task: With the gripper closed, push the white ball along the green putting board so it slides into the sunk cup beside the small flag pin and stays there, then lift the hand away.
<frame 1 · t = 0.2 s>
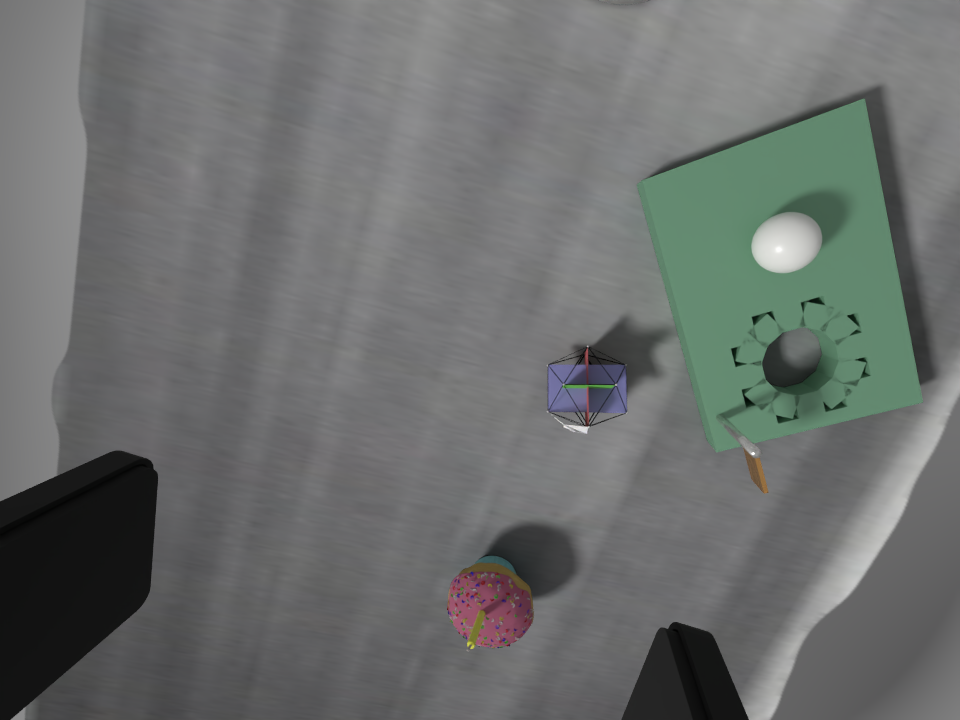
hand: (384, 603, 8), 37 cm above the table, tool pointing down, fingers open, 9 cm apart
mat: (769, 289, 40), on the table
geometric puzzle: (584, 378, 44), on the table
ball: (785, 243, 35), point 5 cm above the table, touching mat
cupcake: (495, 573, 50), on the table
flag pin: (710, 408, 43), resting on mat
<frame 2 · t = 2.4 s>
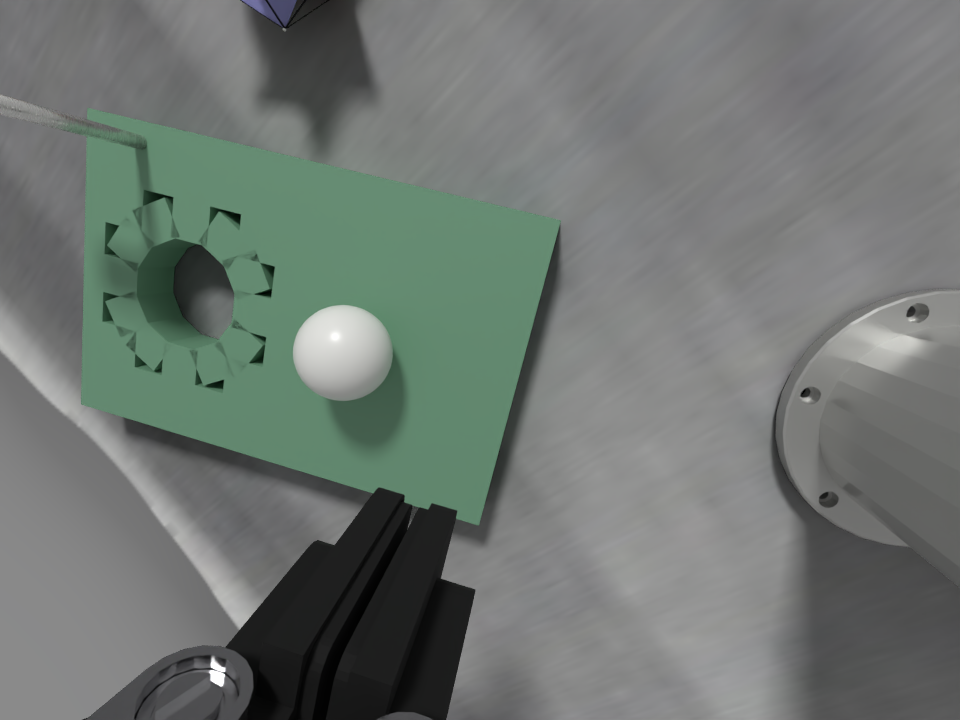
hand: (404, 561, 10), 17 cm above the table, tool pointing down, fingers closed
mat: (314, 317, 27), on the table
ball: (344, 353, 22), point 5 cm above the table, touching mat
flag pin: (179, 152, 26), resting on mat
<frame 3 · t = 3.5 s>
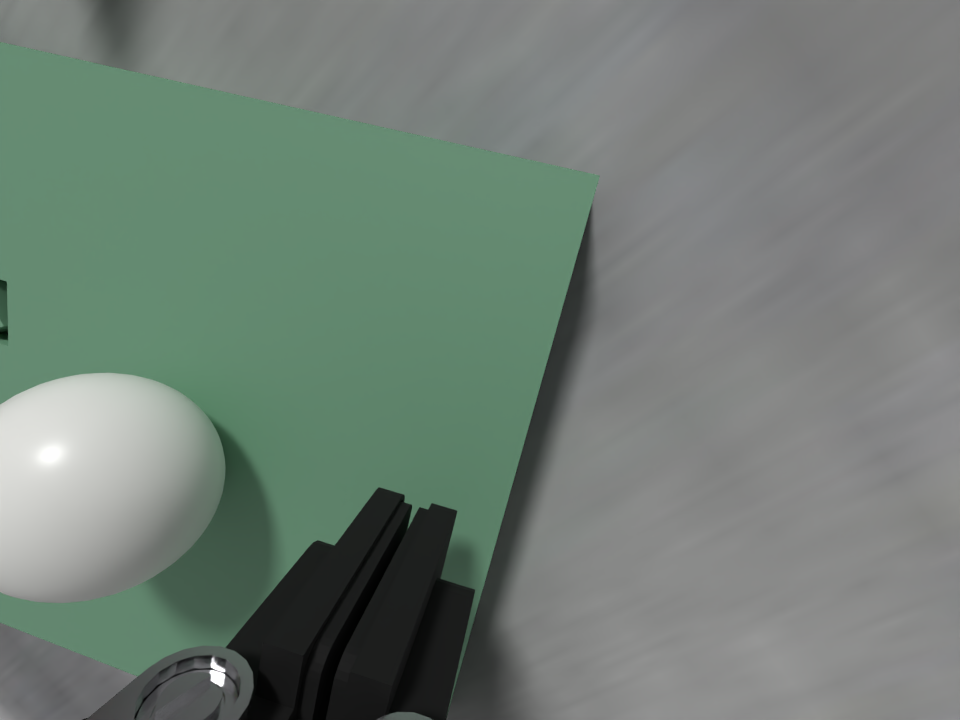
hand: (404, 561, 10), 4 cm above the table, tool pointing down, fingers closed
mat: (134, 372, 15), on the table
ball: (102, 481, 10), point 5 cm above the table, touching mat
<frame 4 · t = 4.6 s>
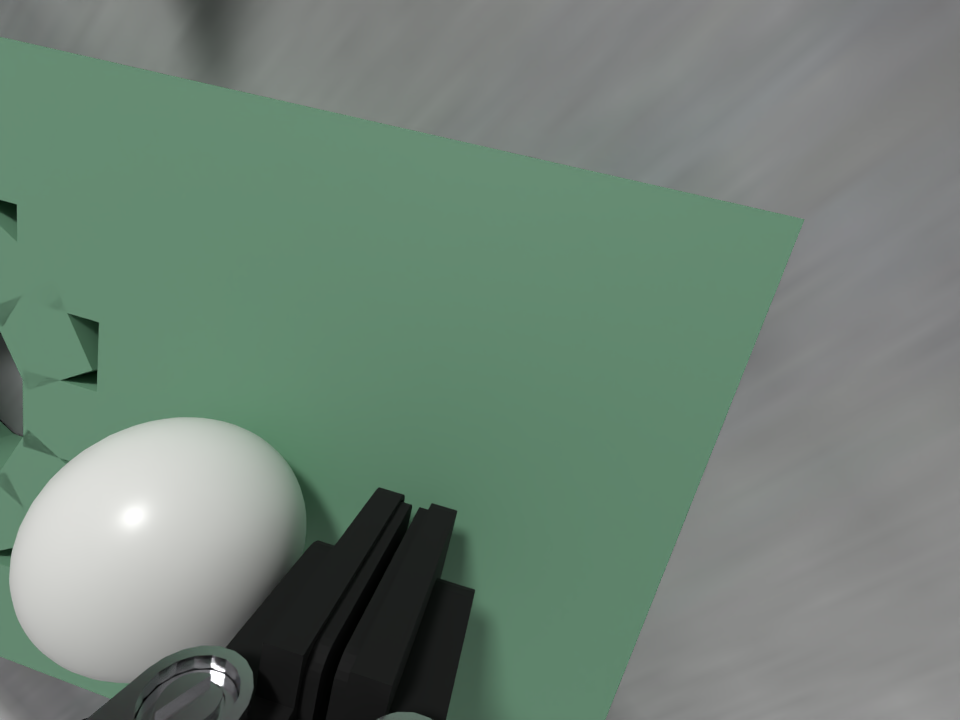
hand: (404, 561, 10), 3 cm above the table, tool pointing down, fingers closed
mat: (215, 411, 13), on the table
ball: (178, 537, 9), point 5 cm above the table, tilted 6°, touching mat
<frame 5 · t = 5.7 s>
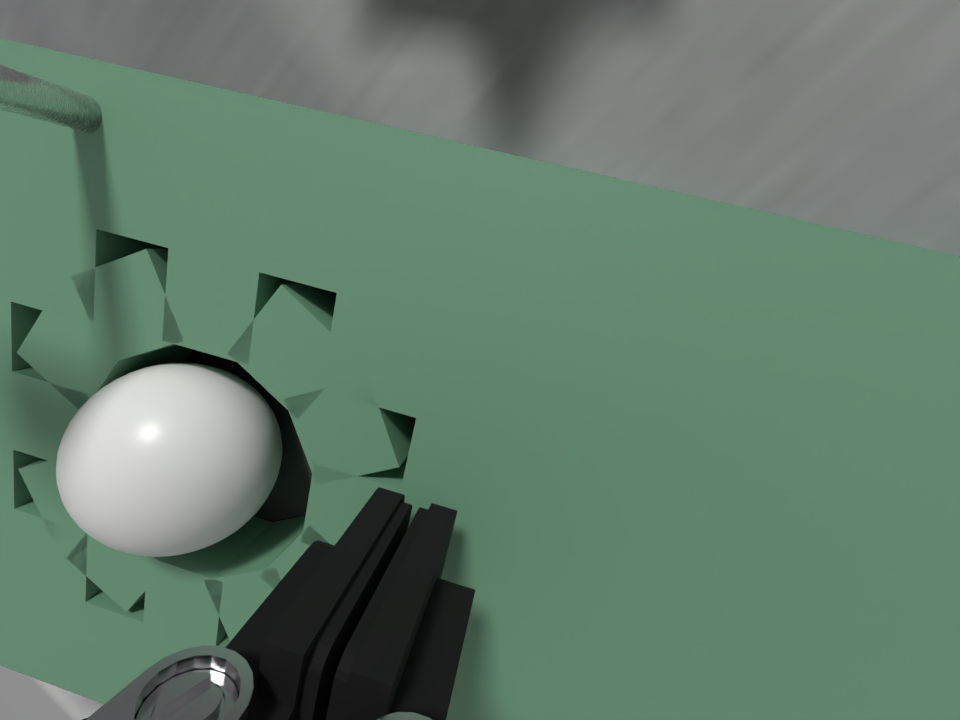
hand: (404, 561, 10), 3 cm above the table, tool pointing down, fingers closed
mat: (465, 490, 13), on the table
ball: (181, 455, 11), point 2 cm above the table, tilted 136°
flag pin: (182, 142, 12), resting on mat
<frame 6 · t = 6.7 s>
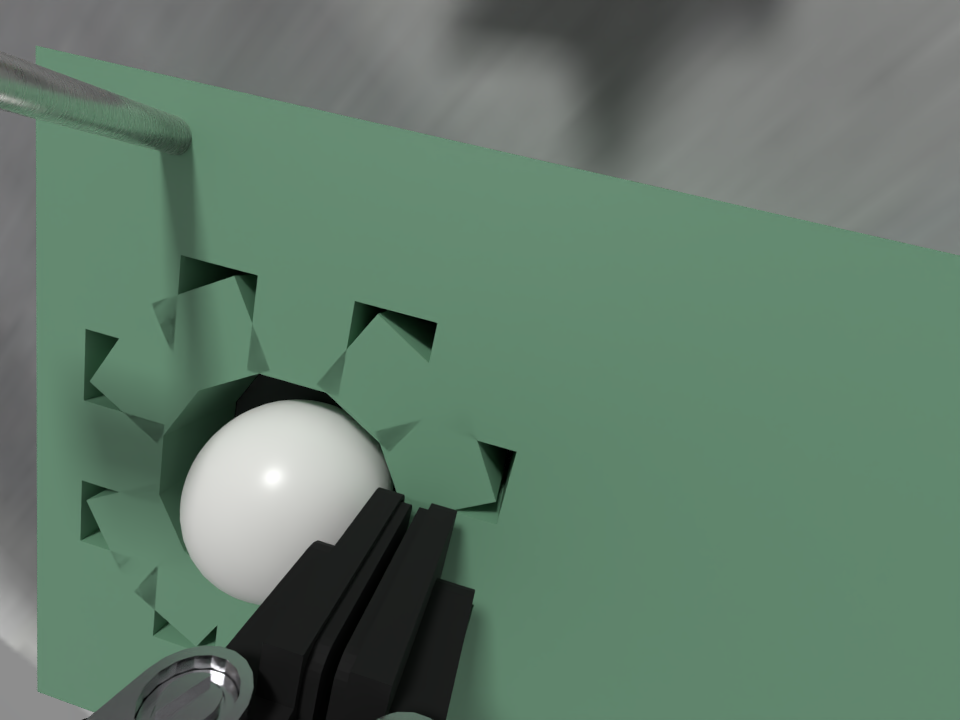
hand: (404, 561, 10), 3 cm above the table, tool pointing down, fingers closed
mat: (542, 518, 12), on the table
ball: (294, 496, 11), point 2 cm above the table, tilted 116°, touching gripper
flag pin: (255, 160, 11), resting on mat
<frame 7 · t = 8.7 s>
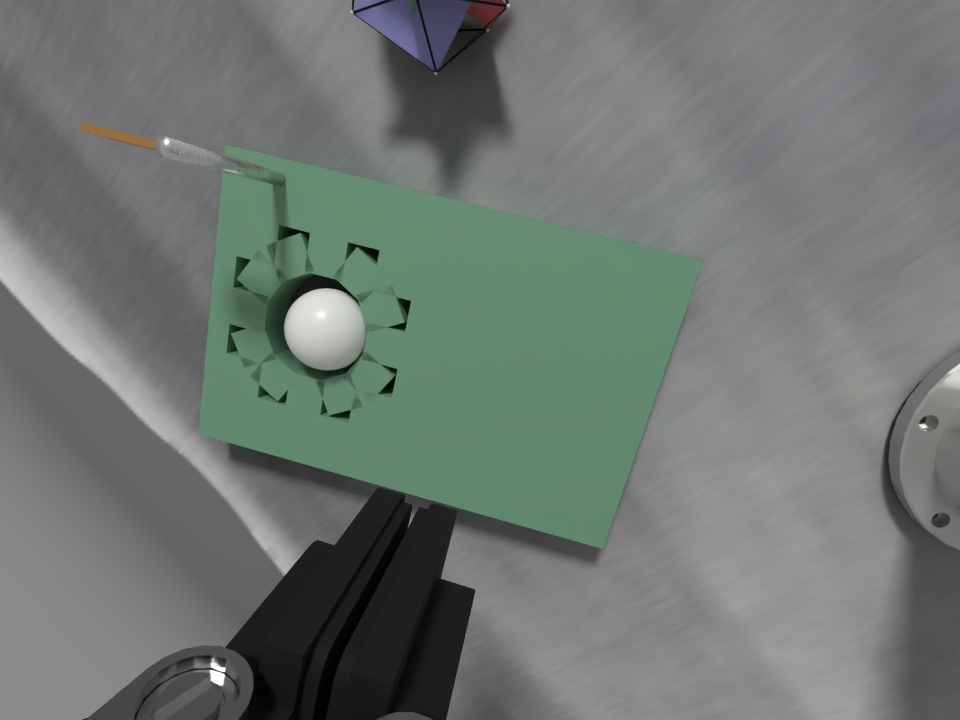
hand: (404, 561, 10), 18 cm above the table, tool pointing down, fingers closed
mat: (433, 347, 27), on the table
geometric puzzle: (447, 6, 23), on the table
ball: (328, 329, 25), point 2 cm above the table, tilted 107°
flag pin: (303, 185, 26), resting on mat
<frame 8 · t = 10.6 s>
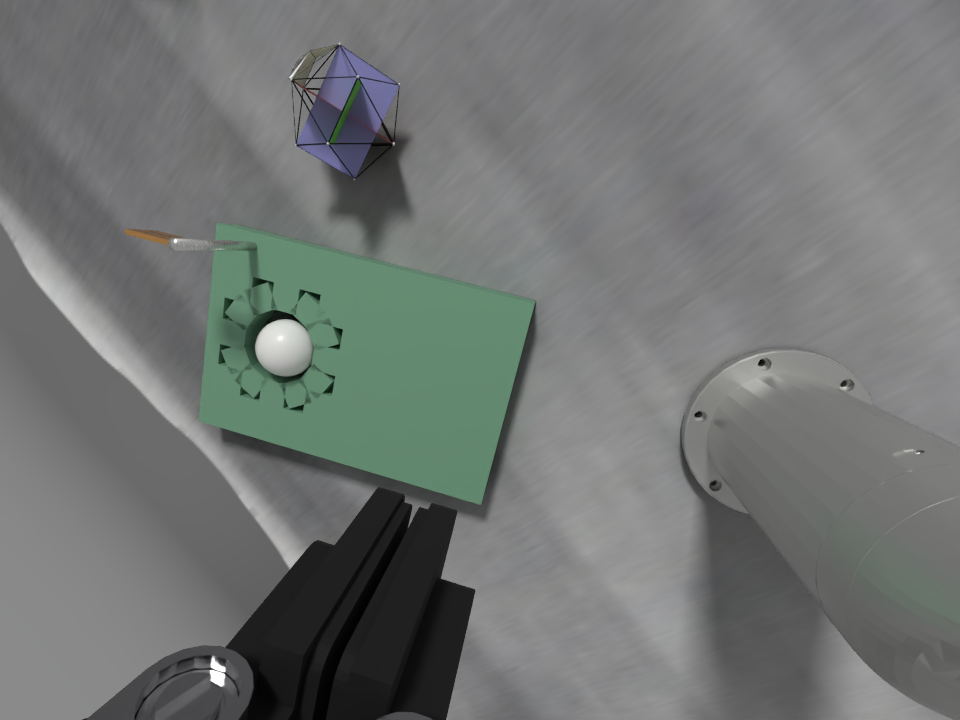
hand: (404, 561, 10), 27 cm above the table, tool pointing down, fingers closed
mat: (364, 360, 38), on the table
geometric puzzle: (367, 128, 34), on the table
ball: (286, 347, 36), point 2 cm above the table, tilted 110°
flag pin: (272, 246, 37), resting on mat
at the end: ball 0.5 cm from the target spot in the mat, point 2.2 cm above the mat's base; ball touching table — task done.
